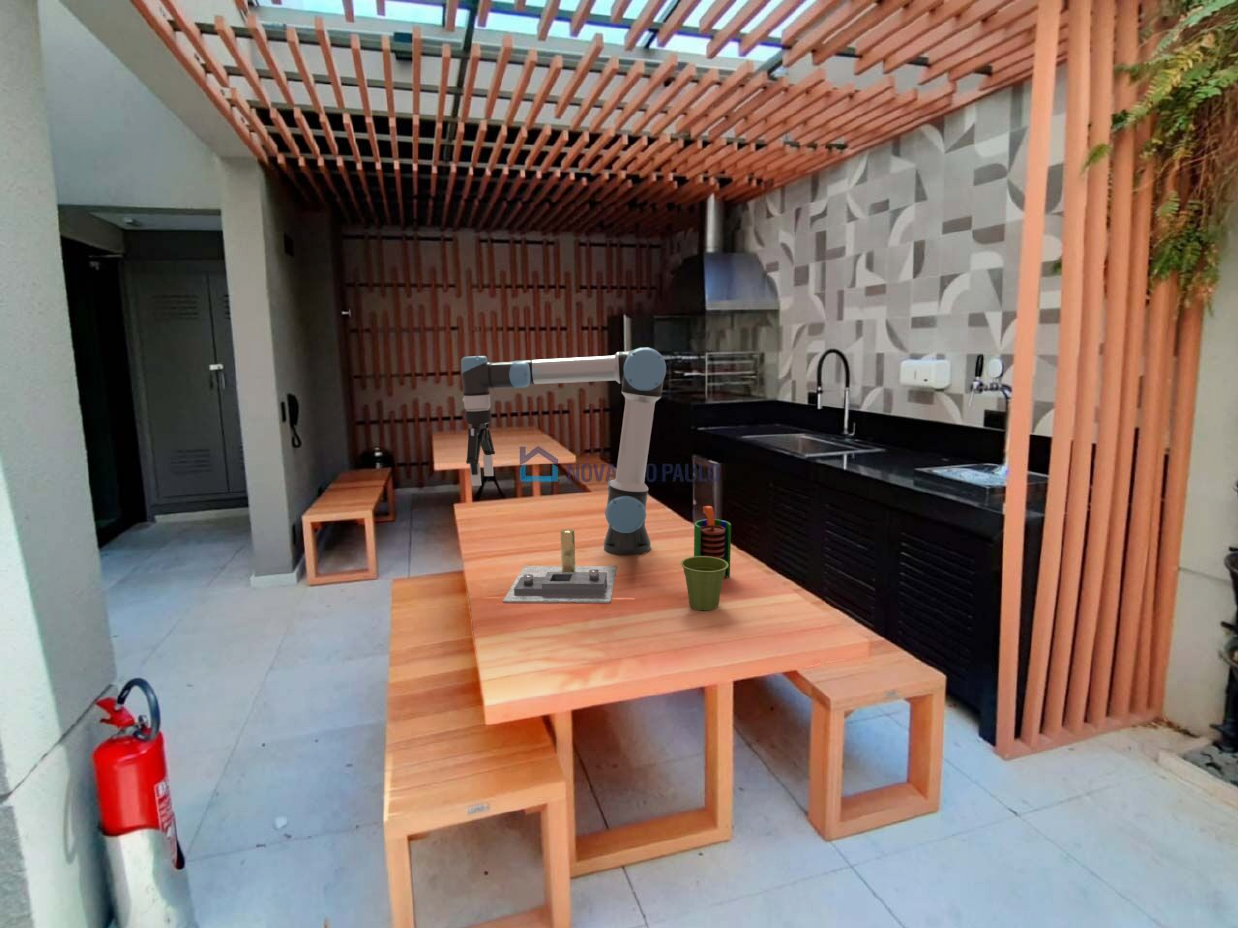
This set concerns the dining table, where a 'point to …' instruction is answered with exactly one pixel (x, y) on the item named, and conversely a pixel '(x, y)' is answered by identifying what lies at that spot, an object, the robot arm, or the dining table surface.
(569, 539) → the brass pin
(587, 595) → the square hole fixture plate
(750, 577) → the dining table surface
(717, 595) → the plant pot
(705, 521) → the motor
